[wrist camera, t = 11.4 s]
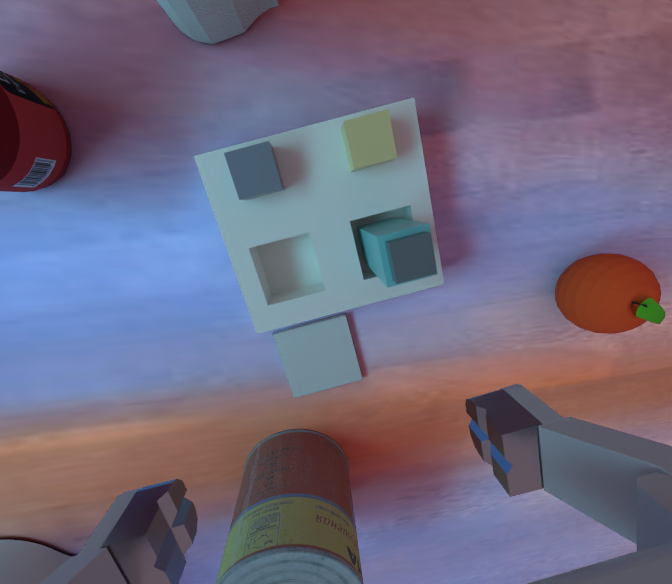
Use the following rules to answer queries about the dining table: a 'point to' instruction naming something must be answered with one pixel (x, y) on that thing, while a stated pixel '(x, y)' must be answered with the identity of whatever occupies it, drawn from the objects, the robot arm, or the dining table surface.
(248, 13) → the paper towel roll
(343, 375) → the mat
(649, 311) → the clementine
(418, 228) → the plug
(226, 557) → the canned food
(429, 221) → the block
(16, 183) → the canned food
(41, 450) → the dining table surface
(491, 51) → the dining table surface
